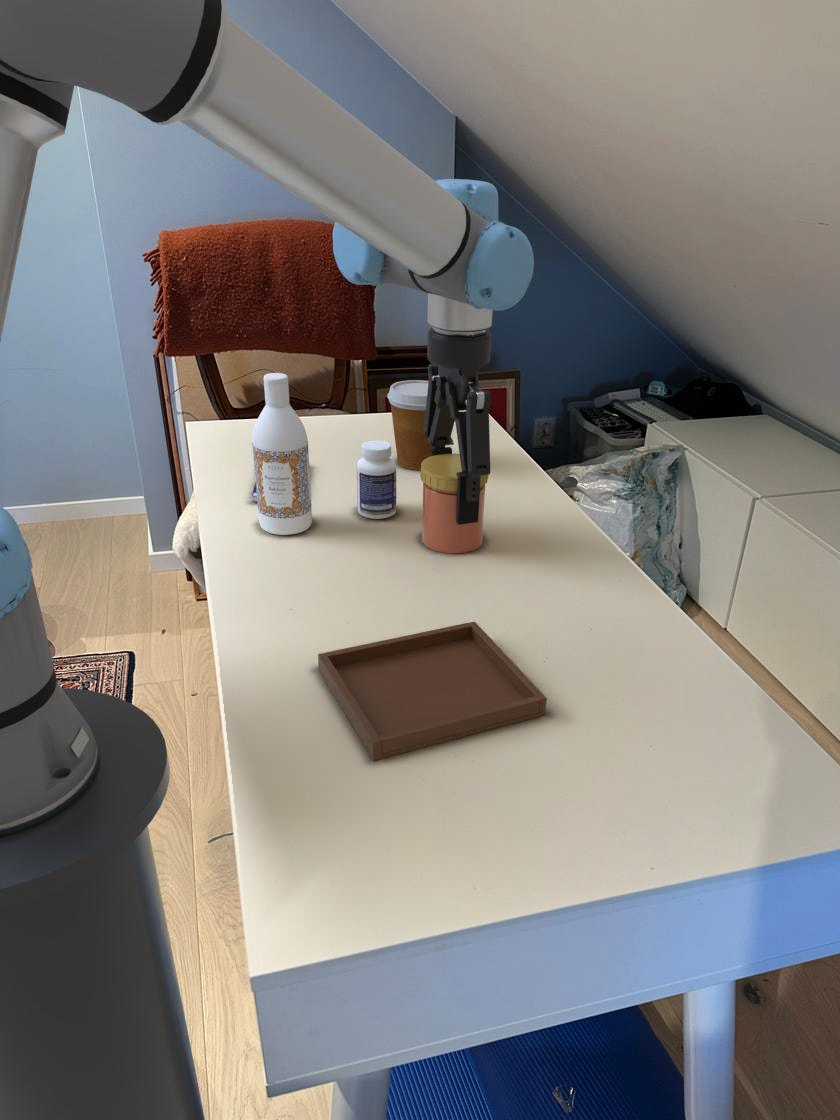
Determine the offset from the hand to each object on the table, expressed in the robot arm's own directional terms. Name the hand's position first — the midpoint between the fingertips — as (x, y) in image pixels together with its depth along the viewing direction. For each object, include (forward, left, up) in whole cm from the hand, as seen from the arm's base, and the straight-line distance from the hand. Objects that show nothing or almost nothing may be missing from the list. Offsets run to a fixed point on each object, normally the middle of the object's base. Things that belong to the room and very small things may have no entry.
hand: (453, 508), depth 116 cm
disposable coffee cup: (+7, +28, -5) cm, 29 cm away
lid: (0, 0, +5) cm, 5 cm away
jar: (0, 0, -5) cm, 5 cm away
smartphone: (-16, +27, -5) cm, 31 cm away
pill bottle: (-6, +12, -5) cm, 14 cm away
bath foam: (-19, +12, -5) cm, 23 cm away
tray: (-17, -31, -5) cm, 36 cm away
